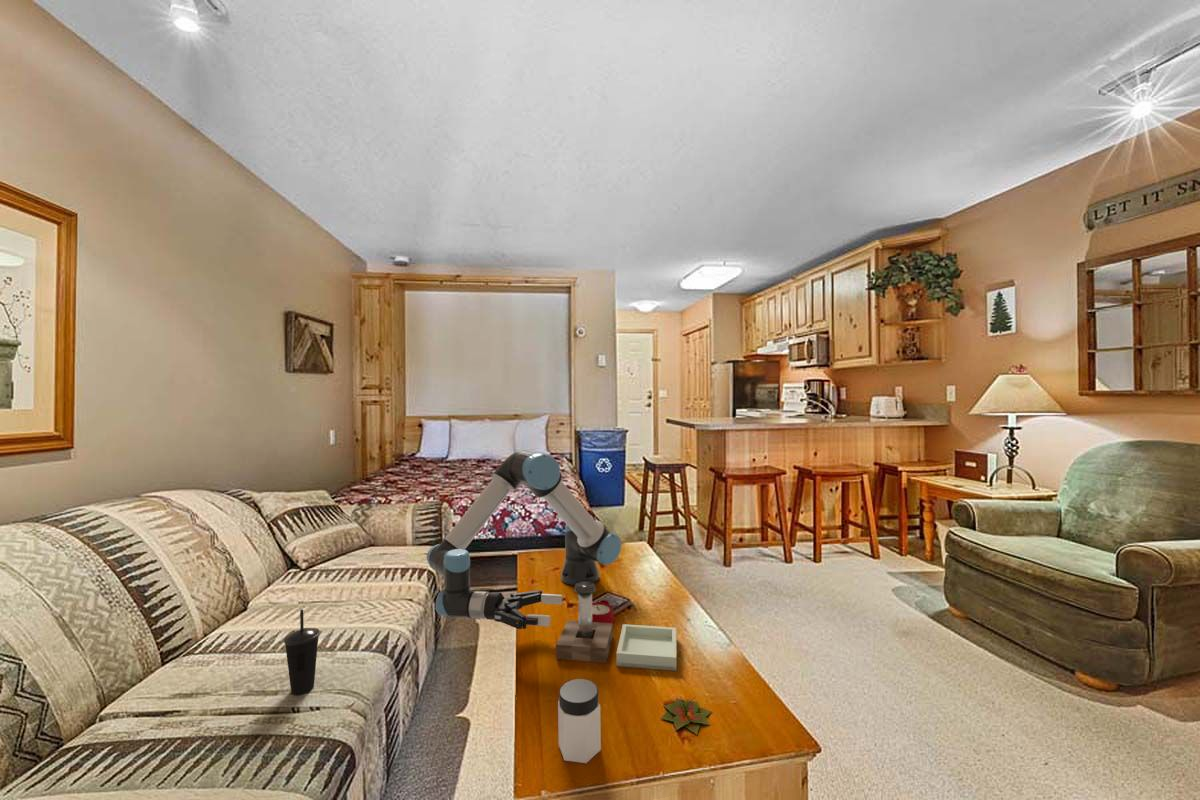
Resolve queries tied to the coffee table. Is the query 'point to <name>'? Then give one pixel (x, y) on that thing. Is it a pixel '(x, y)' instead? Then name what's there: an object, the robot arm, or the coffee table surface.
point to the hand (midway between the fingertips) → (556, 609)
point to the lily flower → (687, 707)
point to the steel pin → (585, 608)
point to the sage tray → (647, 647)
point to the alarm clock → (602, 612)
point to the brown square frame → (585, 643)
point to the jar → (579, 720)
